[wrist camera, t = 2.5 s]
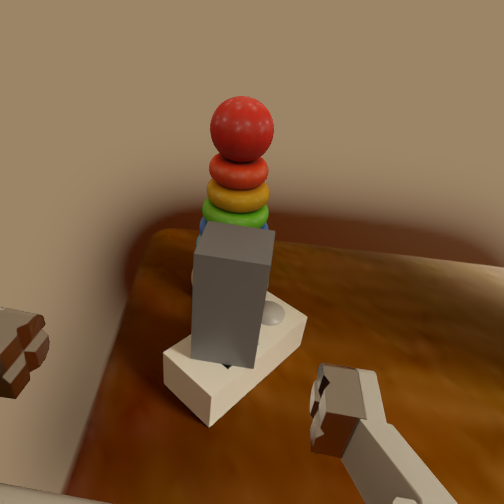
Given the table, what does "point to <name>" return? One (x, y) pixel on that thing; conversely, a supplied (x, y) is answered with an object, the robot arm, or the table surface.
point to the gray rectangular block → (229, 293)
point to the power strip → (235, 378)
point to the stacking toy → (238, 165)
